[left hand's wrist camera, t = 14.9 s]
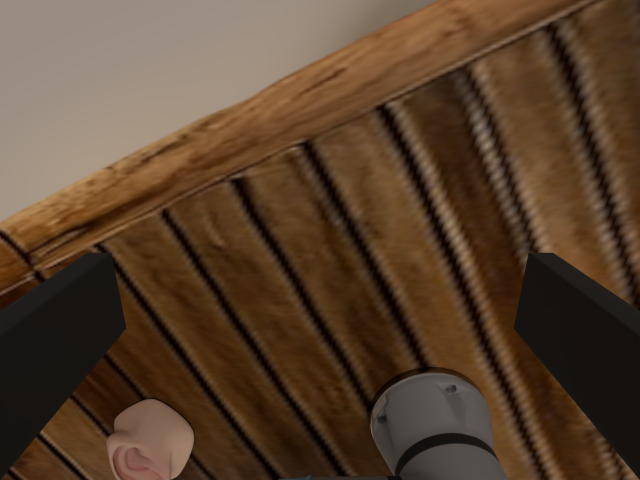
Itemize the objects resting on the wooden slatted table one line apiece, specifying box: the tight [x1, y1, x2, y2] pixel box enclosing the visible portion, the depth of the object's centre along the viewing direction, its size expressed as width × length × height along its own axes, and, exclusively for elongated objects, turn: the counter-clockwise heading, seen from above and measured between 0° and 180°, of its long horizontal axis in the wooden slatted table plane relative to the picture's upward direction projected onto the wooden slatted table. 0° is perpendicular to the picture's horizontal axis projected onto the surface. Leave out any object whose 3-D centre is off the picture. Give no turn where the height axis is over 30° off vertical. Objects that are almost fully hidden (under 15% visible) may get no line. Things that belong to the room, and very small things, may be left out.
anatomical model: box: [106, 399, 194, 480], centre depth 52 cm, size 13×4×12 cm
